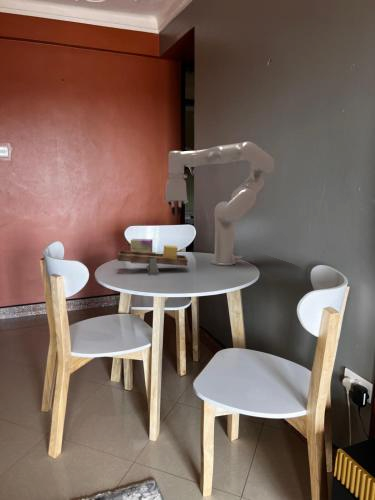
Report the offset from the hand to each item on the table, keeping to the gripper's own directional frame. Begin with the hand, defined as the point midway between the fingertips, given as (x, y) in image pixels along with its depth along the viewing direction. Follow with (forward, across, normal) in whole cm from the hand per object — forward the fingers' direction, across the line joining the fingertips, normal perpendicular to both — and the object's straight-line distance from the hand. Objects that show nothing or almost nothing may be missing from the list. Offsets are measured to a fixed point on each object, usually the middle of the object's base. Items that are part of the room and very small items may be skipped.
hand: (176, 215), depth 186 cm
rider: (+20, +4, +11) cm, 23 cm away
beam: (+21, +12, +11) cm, 26 cm away
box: (+25, +17, -8) cm, 32 cm away
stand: (+25, +12, +11) cm, 30 cm away
